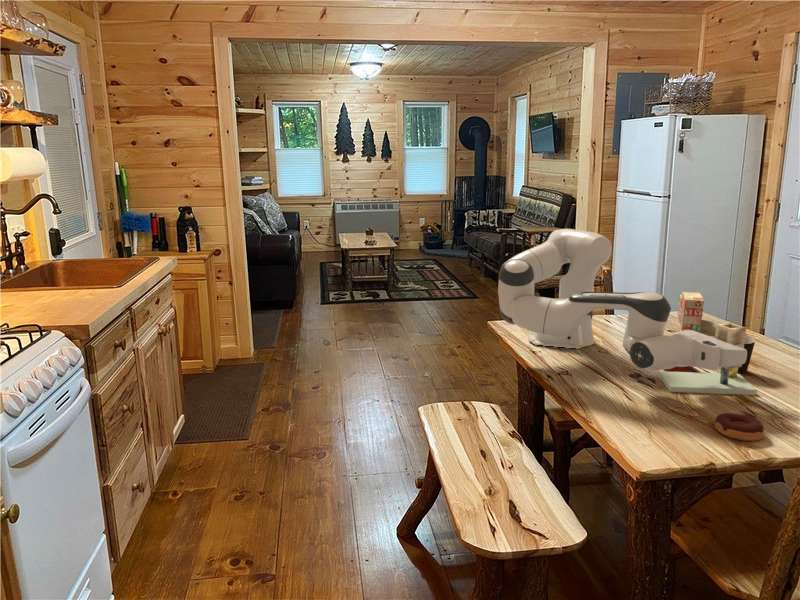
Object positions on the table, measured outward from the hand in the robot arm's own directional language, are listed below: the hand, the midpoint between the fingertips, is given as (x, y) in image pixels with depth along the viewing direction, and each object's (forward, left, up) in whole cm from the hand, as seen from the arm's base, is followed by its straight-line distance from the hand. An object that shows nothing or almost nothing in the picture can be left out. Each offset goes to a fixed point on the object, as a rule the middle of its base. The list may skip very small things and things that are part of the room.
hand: (731, 343), depth 160 cm
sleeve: (-1, 0, -6) cm, 6 cm away
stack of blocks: (+10, +65, -13) cm, 67 cm away
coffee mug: (+8, +16, -13) cm, 22 cm away
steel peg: (-1, 0, -12) cm, 12 cm away
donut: (-8, -28, -14) cm, 32 cm away
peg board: (-5, +2, -13) cm, 14 cm away
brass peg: (+3, +6, -12) cm, 13 cm away
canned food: (-9, +16, -14) cm, 23 cm away
